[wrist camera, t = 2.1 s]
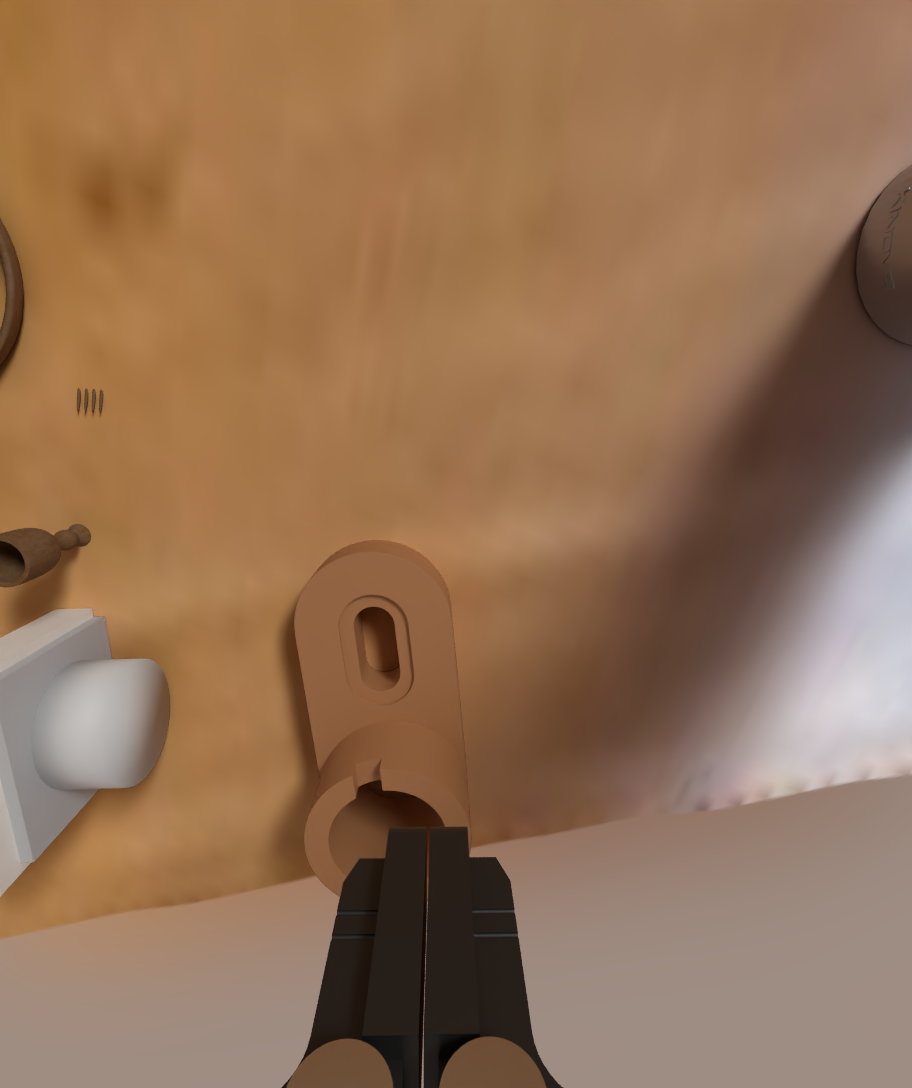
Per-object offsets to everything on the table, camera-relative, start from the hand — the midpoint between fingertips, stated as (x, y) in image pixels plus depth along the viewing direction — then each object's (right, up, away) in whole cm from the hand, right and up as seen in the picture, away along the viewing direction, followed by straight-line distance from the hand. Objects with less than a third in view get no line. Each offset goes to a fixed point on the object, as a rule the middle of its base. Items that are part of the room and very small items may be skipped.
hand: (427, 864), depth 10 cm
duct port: (-19, -2, +22) cm, 29 cm away
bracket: (-3, -2, +22) cm, 23 cm away
